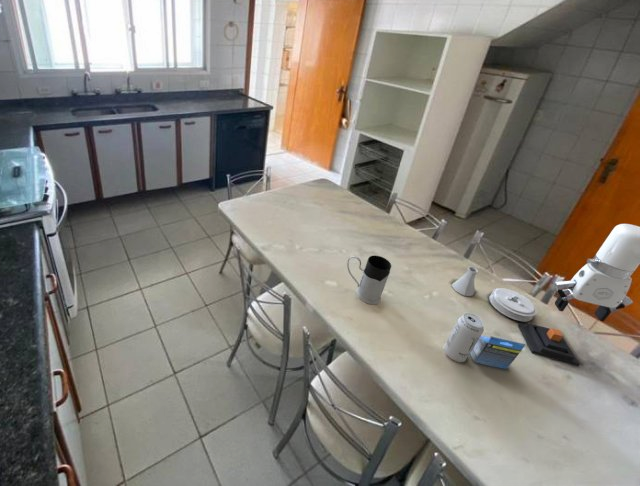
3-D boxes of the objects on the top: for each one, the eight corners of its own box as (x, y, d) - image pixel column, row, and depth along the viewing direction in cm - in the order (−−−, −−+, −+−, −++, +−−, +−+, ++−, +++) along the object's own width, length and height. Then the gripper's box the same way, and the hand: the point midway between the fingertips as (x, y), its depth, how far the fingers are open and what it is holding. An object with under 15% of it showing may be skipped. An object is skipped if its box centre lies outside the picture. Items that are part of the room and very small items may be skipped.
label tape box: (499, 360, 98) (518, 332, 92) (506, 372, 94) (526, 344, 89) (467, 353, 99) (484, 325, 93) (473, 365, 96) (491, 337, 90)
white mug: (378, 308, 112) (391, 275, 105) (338, 291, 118) (347, 258, 111) (382, 292, 119) (395, 260, 112) (344, 276, 125) (353, 245, 118)
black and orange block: (552, 336, 106) (560, 325, 104) (563, 354, 100) (572, 344, 98) (534, 331, 107) (542, 320, 105) (544, 349, 101) (552, 338, 99)
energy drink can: (458, 368, 94) (479, 332, 87) (438, 351, 99) (457, 316, 92) (468, 358, 97) (490, 324, 90) (448, 343, 102) (467, 308, 95)
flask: (461, 281, 128) (471, 261, 123) (478, 294, 122) (489, 274, 117) (447, 284, 126) (457, 264, 121) (463, 298, 120) (474, 277, 115)
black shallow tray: (559, 336, 107) (563, 331, 106) (578, 366, 98) (583, 361, 97) (517, 325, 110) (520, 319, 109) (531, 352, 101) (535, 347, 100)
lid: (480, 298, 120) (485, 288, 118) (504, 292, 124) (510, 282, 122) (514, 326, 109) (521, 316, 107) (539, 319, 113) (547, 309, 111)
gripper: (579, 267, 88) (549, 313, 95) (663, 285, 83) (623, 331, 91) (565, 251, 94) (537, 295, 102) (641, 266, 89) (606, 311, 97)
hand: (578, 312), depth 96 cm, fingers open, 9 cm apart
